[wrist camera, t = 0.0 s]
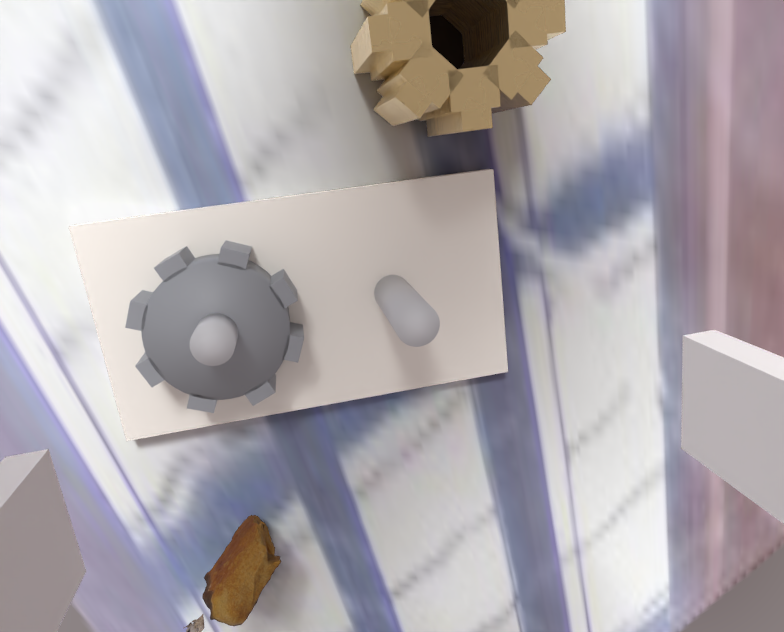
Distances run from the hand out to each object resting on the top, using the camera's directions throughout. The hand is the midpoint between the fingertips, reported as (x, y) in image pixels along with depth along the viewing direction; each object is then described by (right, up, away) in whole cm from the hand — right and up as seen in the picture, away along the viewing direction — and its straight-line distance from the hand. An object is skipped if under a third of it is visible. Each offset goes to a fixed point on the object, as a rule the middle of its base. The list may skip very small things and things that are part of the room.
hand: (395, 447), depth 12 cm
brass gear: (+2, +19, +25) cm, 31 cm away
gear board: (-6, +4, +27) cm, 28 cm away
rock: (-11, -14, +31) cm, 36 cm away
